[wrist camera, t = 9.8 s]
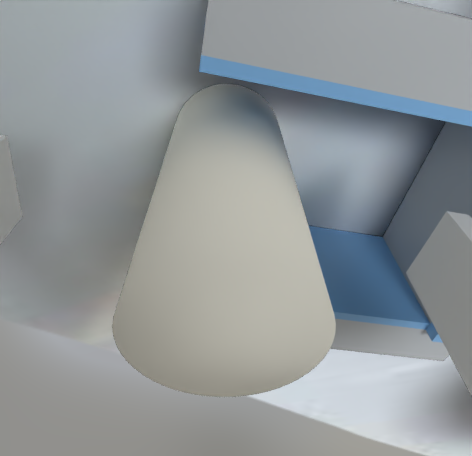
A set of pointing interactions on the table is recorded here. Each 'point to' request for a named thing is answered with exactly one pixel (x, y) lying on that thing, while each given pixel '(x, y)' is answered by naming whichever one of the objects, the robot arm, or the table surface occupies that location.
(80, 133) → the table surface
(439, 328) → the robot arm
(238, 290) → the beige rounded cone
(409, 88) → the folding screen
